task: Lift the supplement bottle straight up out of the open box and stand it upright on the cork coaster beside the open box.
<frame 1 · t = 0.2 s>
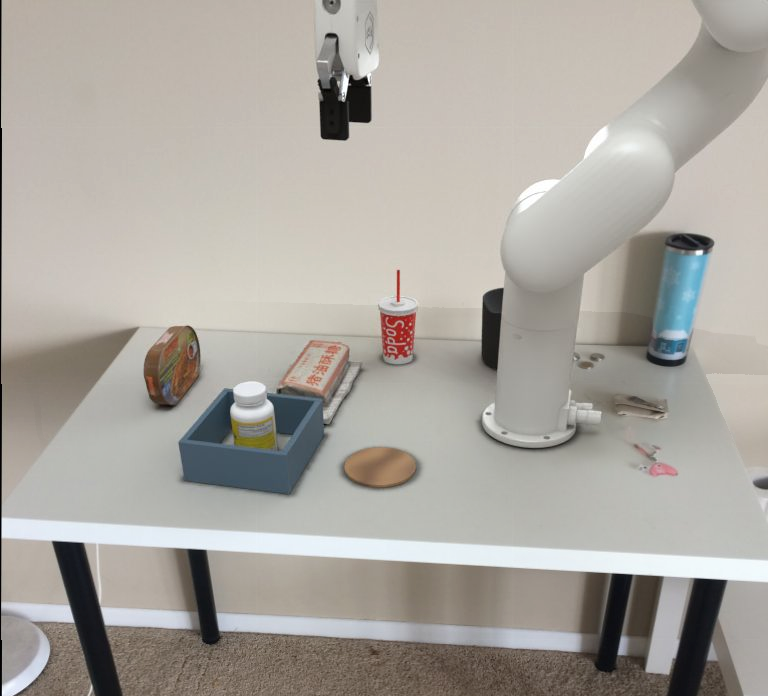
hand: (347, 130, 101), 36 cm above the table, tool pointing down, fingers open, 9 cm apart
packaged product: (313, 394, 126), on the table
supplement bottle: (257, 458, 112), resting in open box
pen holder: (509, 361, 135), on the table
tin: (177, 391, 127), on the table
coaster: (380, 468, 109), on the table
beverage cup: (398, 359, 136), on the table
open box: (257, 457, 111), on the table
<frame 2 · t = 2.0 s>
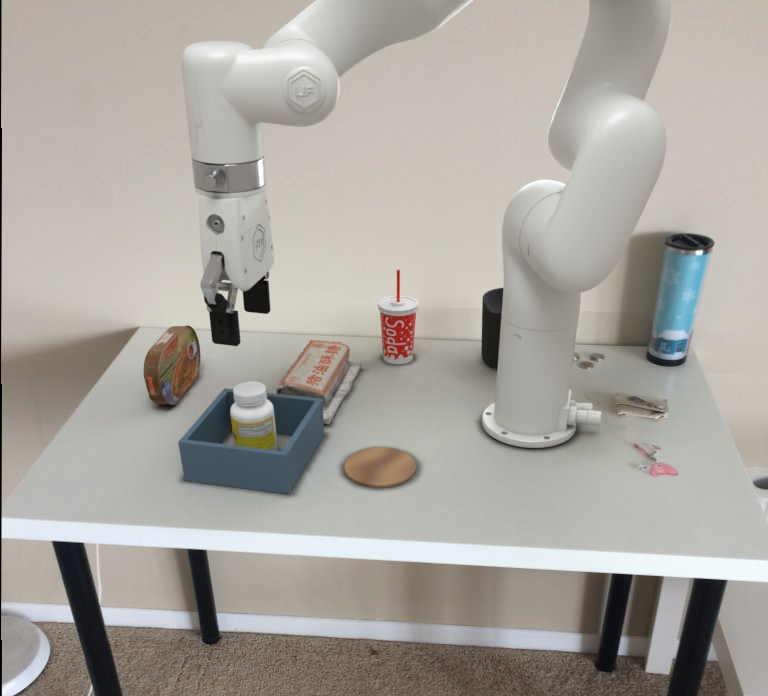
hand: (242, 327, 102), 18 cm above the table, tool pointing down, fingers open, 9 cm apart
nothing on the table moved.
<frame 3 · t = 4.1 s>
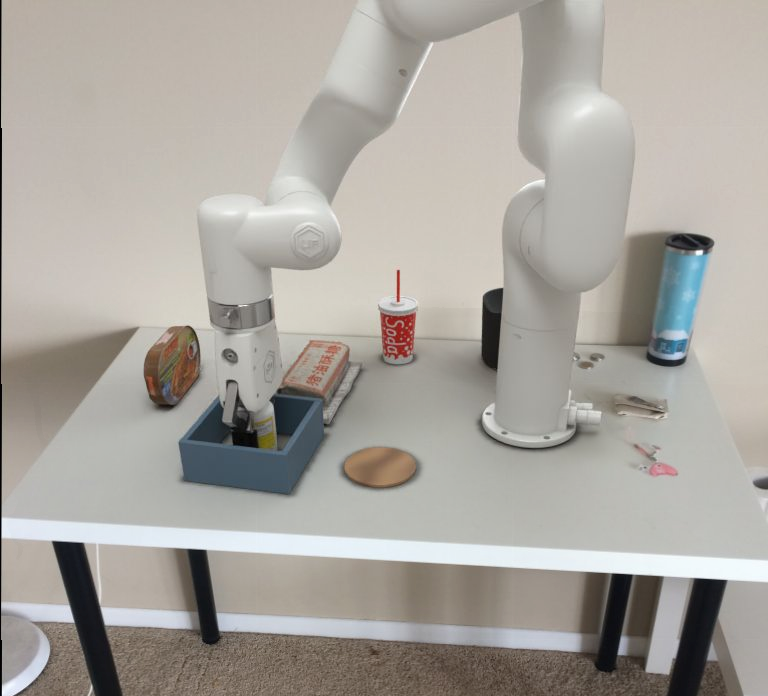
hand: (255, 443, 110), 2 cm above the table, tool pointing down, fingers closed on supplement bottle, 5 cm apart
supplement bottle: (257, 458, 112), resting in open box, touching gripper
everything else where it was.
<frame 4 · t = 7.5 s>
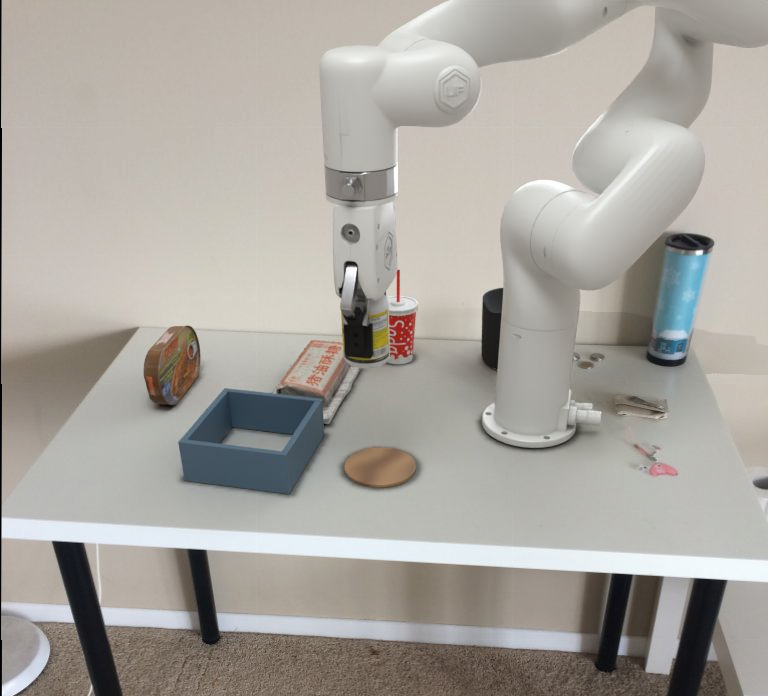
hand: (366, 343, 100), 17 cm above the table, tool pointing down, fingers closed on supplement bottle, 5 cm apart
supplement bottle: (366, 360, 101), point 14 cm above the table, touching gripper
everything else where it was.
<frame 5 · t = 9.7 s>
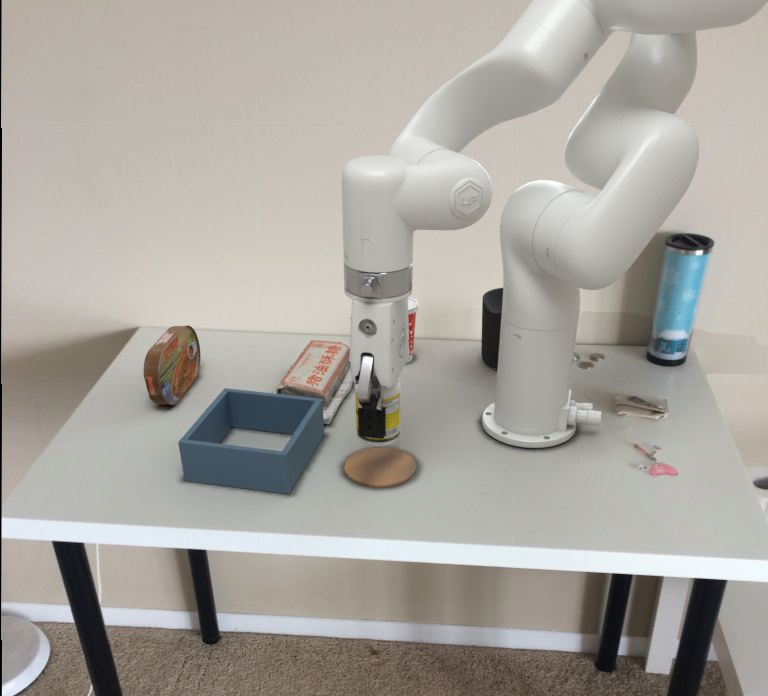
hand: (378, 422, 105), 7 cm above the table, tool pointing down, fingers closed on supplement bottle, 5 cm apart
supplement bottle: (378, 438, 107), point 4 cm above the table, touching gripper
everything else where it was.
when the fingers open (2 cm above the table, at t = 11.2 s): supplement bottle stays where it is, resting on coaster.
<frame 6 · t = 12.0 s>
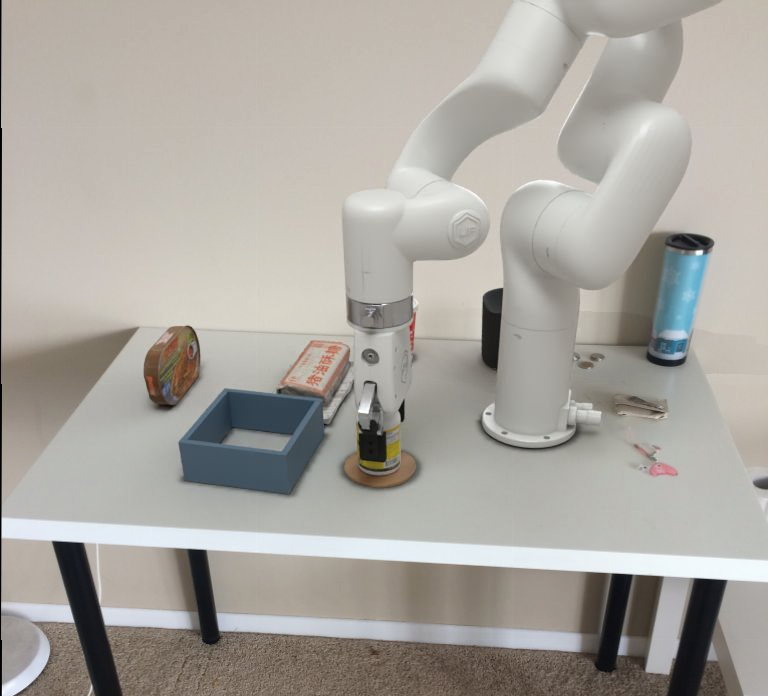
hand: (382, 439, 107), 4 cm above the table, tool pointing down, fingers open, 9 cm apart
supplement bottle: (379, 466, 109), resting on coaster
everything else where it was.
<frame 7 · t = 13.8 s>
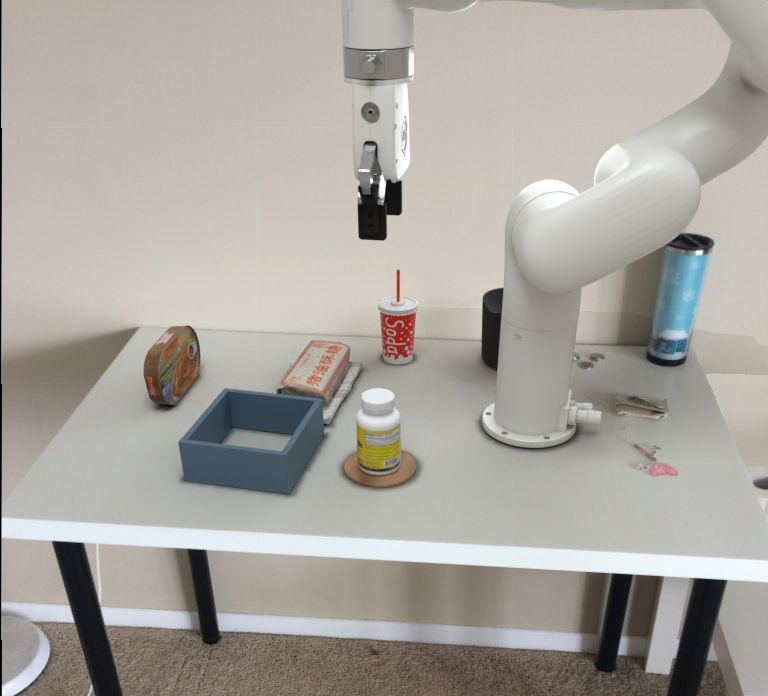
hand: (381, 226, 103), 27 cm above the table, tool pointing down, fingers open, 9 cm apart
nothing on the table moved.
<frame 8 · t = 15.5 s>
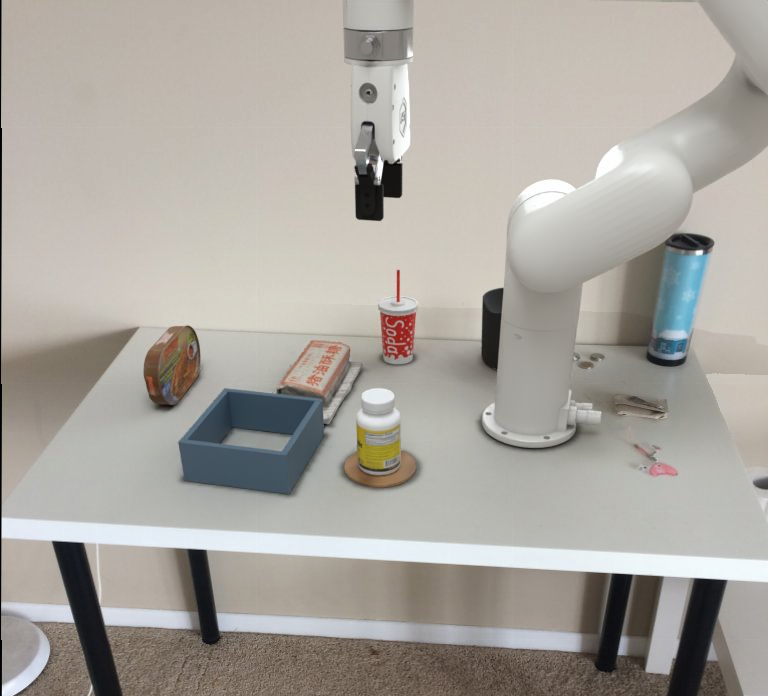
hand: (379, 207, 104), 28 cm above the table, tool pointing down, fingers open, 9 cm apart
nothing on the table moved.
at the end: supplement bottle 0.1 cm off-centre on the coaster, point 0.2 cm above the coaster's base; supplement bottle tilted 0°; supplement bottle touching coaster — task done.
